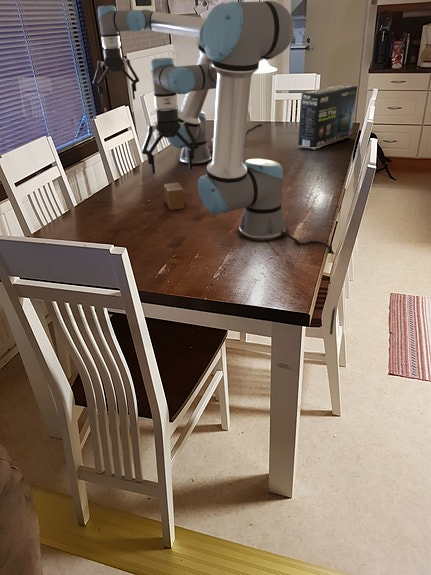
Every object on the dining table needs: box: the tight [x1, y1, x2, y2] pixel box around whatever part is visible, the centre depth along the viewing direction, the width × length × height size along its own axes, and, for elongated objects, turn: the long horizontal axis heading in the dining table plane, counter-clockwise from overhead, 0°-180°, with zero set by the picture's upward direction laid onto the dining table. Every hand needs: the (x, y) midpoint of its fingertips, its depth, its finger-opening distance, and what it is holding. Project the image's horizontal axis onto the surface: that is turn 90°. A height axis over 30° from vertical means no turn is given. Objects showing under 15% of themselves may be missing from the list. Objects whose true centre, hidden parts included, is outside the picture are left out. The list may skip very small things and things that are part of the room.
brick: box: [163, 182, 185, 211], centre depth 172 cm, size 8×6×7 cm, turn 15°
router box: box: [297, 84, 358, 151], centre depth 238 cm, size 36×11×27 cm, turn 134°
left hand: (118, 100), depth 208 cm, fingers open, 13 cm apart
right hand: (172, 170), depth 166 cm, fingers open, 13 cm apart
